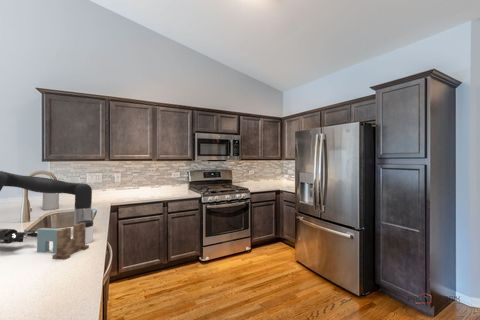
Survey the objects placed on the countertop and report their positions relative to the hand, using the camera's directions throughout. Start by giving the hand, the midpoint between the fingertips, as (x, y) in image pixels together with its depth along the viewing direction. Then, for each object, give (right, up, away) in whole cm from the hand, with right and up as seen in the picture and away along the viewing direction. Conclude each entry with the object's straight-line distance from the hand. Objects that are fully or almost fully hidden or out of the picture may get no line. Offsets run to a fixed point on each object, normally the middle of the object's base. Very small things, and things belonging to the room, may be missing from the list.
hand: (30, 237), depth 130 cm
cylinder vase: (-72, -6, +105) cm, 127 cm away
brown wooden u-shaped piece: (+24, -7, -3) cm, 25 cm away
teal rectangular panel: (+12, -7, -1) cm, 14 cm away
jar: (+20, -8, +15) cm, 26 cm away
